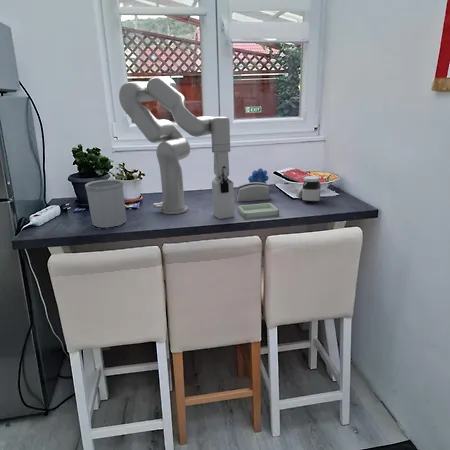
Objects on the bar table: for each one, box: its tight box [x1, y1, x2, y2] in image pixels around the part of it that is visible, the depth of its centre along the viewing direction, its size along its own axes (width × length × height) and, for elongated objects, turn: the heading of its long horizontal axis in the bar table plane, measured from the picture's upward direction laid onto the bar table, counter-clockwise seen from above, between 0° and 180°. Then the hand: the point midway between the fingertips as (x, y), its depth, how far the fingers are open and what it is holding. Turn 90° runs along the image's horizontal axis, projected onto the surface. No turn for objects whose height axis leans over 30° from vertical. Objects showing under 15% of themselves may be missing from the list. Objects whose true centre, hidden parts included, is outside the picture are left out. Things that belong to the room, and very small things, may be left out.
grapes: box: [248, 167, 270, 184], centre depth 206 cm, size 12×7×12 cm, turn 108°
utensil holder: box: [84, 178, 127, 227], centre depth 162 cm, size 15×15×18 cm
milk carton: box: [211, 175, 235, 220], centre depth 165 cm, size 7×7×19 cm
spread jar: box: [296, 175, 322, 205], centre depth 184 cm, size 12×11×12 cm
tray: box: [237, 202, 280, 220], centre depth 170 cm, size 15×12×2 cm
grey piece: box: [235, 182, 271, 203], centre depth 190 cm, size 17×5×10 cm, turn 99°
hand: (222, 190), depth 165 cm, fingers closed on milk carton, 7 cm apart
